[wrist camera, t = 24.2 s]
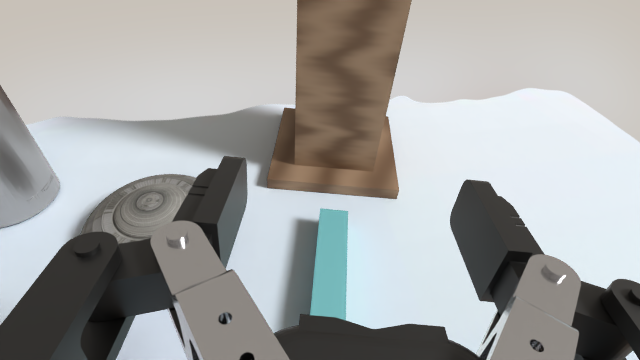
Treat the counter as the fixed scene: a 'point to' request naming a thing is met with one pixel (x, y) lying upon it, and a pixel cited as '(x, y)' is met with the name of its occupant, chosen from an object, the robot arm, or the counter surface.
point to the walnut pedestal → (341, 100)
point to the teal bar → (330, 265)
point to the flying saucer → (140, 207)
